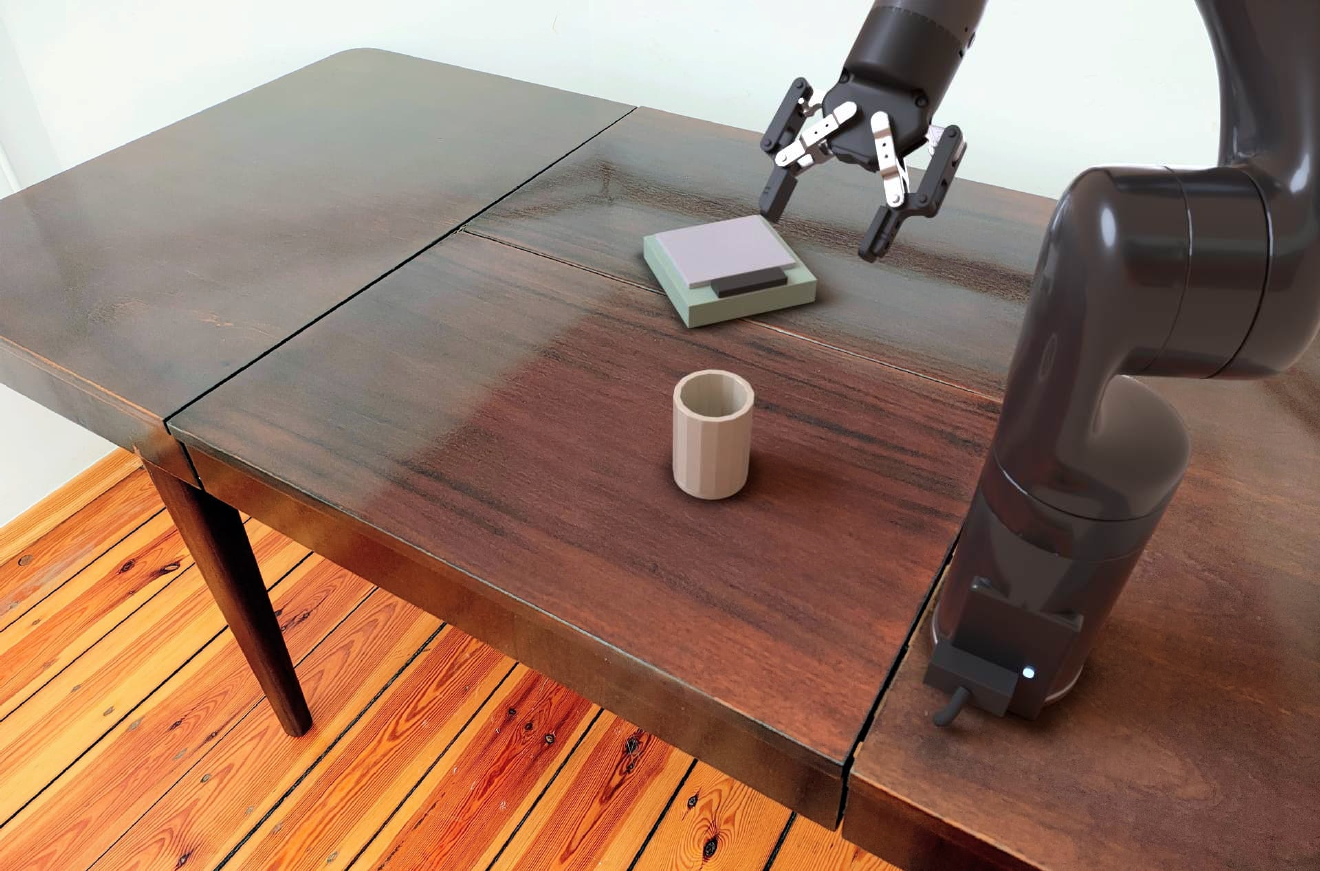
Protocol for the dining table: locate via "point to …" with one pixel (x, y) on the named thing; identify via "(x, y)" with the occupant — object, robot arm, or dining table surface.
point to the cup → (712, 433)
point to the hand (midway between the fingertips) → (814, 239)
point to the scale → (728, 270)
